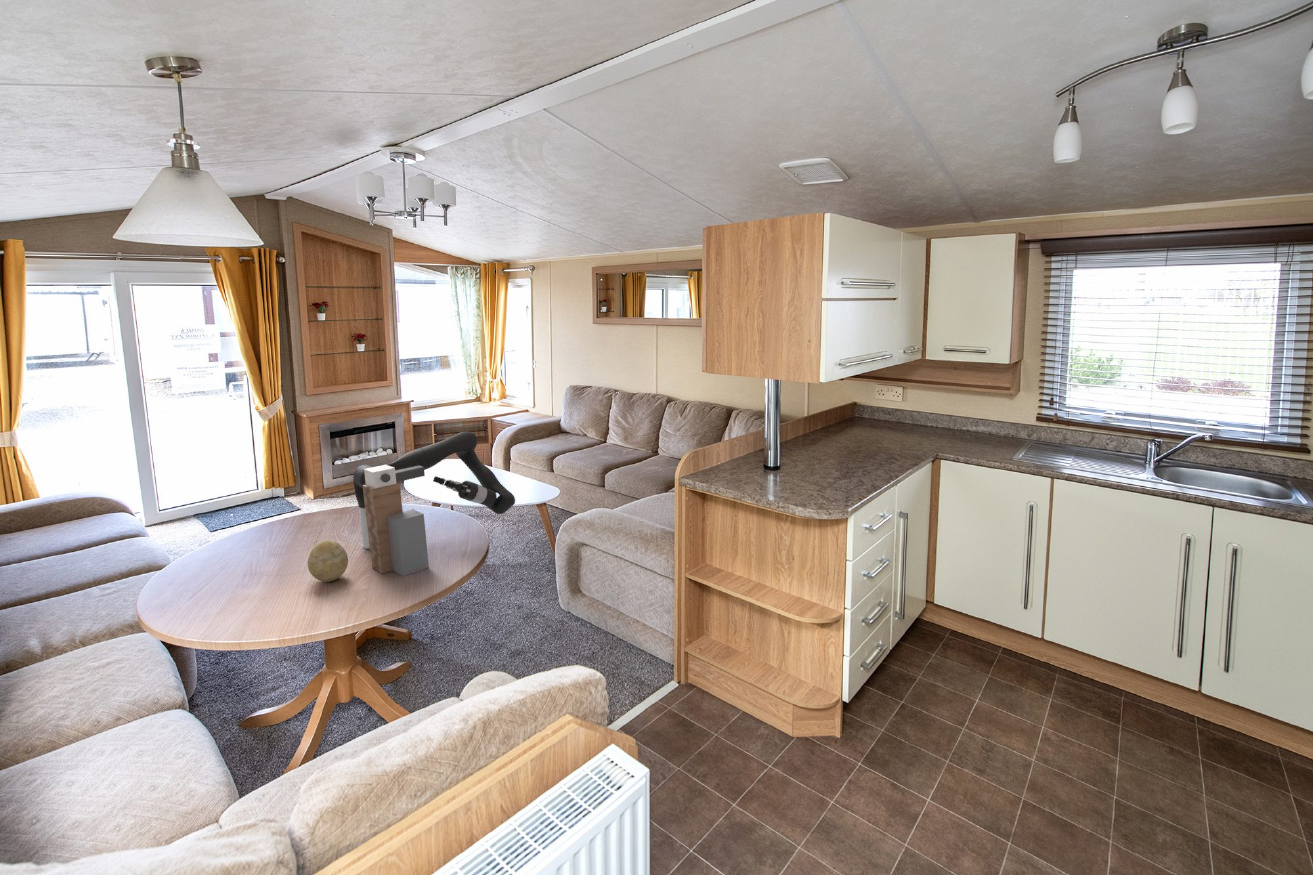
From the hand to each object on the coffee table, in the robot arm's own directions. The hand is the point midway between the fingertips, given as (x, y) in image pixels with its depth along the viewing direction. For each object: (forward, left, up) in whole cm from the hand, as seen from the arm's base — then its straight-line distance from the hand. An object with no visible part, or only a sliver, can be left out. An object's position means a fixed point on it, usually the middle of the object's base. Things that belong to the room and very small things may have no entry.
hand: (439, 480), depth 246 cm
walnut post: (0, -23, -28) cm, 36 cm away
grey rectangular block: (+8, -19, -28) cm, 35 cm away
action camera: (0, -17, +4) cm, 17 cm away
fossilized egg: (-5, -42, -28) cm, 51 cm away
